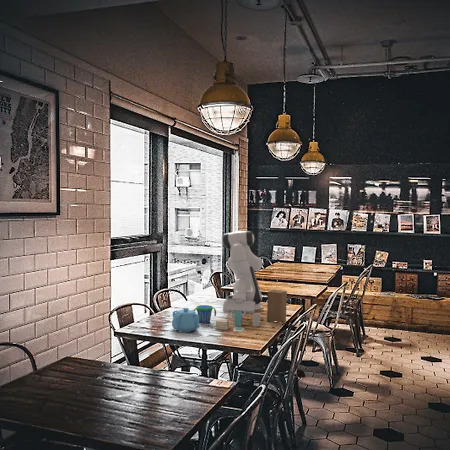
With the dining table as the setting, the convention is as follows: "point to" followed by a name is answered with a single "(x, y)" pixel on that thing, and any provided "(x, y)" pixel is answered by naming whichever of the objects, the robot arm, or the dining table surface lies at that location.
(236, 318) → the teal block
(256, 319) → the grey block
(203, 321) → the snack cup
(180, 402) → the dining table surface
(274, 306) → the wooden block
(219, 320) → the maple block
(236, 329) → the tile
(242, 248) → the robot arm
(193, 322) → the decorative pot
